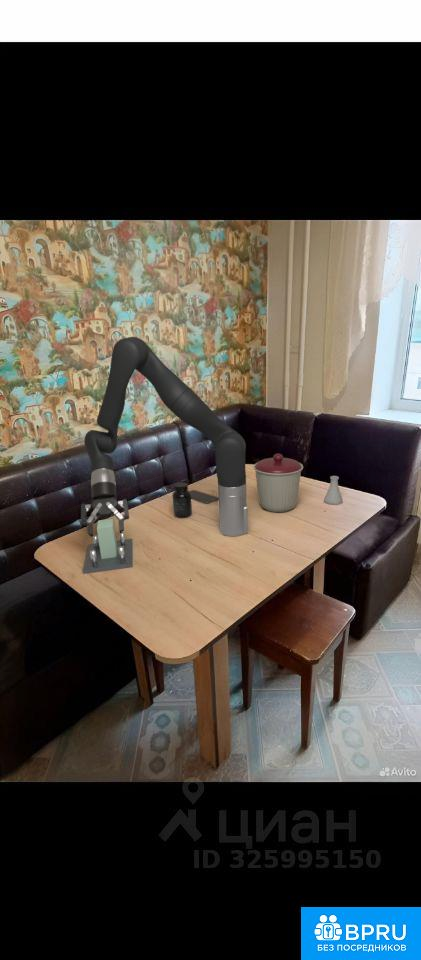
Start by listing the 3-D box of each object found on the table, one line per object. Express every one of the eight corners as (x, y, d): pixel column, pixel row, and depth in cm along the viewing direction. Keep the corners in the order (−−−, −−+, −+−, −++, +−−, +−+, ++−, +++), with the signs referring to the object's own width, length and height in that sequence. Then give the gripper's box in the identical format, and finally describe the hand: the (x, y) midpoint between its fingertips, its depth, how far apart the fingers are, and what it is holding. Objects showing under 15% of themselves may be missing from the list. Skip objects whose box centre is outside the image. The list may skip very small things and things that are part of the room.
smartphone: (193, 489, 176) (219, 497, 165) (193, 491, 176) (219, 499, 165) (180, 494, 171) (206, 502, 160) (180, 496, 171) (207, 505, 160)
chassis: (132, 541, 133) (131, 527, 132) (132, 567, 119) (130, 551, 117) (89, 547, 131) (86, 532, 130) (83, 573, 116) (80, 557, 115)
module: (117, 547, 128) (113, 518, 124) (116, 556, 122) (112, 526, 119) (102, 549, 127) (98, 520, 124) (101, 558, 121) (96, 528, 118)
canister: (262, 496, 166) (262, 446, 159) (306, 501, 159) (308, 449, 152) (247, 513, 151) (246, 458, 144) (295, 520, 143) (296, 463, 136)
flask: (327, 496, 162) (328, 473, 159) (345, 500, 158) (347, 475, 155) (320, 502, 157) (321, 478, 153) (339, 506, 153) (340, 481, 149)
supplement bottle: (180, 510, 156) (177, 480, 153) (195, 512, 153) (193, 482, 149) (170, 516, 151) (167, 486, 147) (186, 519, 148) (183, 489, 144)
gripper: (78, 483, 124) (79, 533, 118) (125, 478, 127) (129, 527, 120) (82, 493, 131) (84, 541, 124) (127, 488, 133) (131, 535, 127)
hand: (106, 534), depth 122 cm, fingers open, 8 cm apart
